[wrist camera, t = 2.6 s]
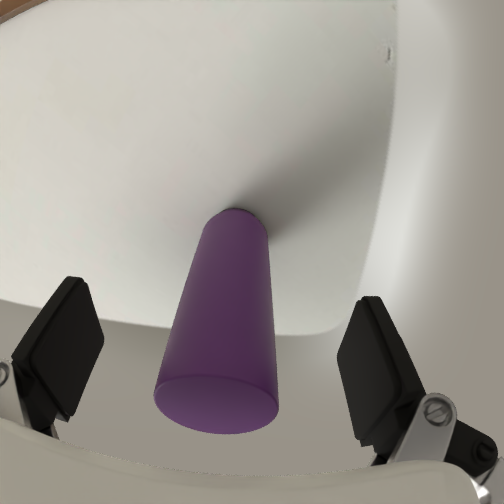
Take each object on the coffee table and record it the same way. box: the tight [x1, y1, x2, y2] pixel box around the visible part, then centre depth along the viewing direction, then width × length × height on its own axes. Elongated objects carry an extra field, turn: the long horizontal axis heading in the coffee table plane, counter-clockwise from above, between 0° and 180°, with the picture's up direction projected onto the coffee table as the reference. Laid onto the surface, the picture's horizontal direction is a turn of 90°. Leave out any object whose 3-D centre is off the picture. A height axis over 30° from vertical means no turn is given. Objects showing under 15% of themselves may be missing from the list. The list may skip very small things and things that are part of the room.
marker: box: [154, 208, 279, 434], centre depth 11 cm, size 3×3×10 cm
